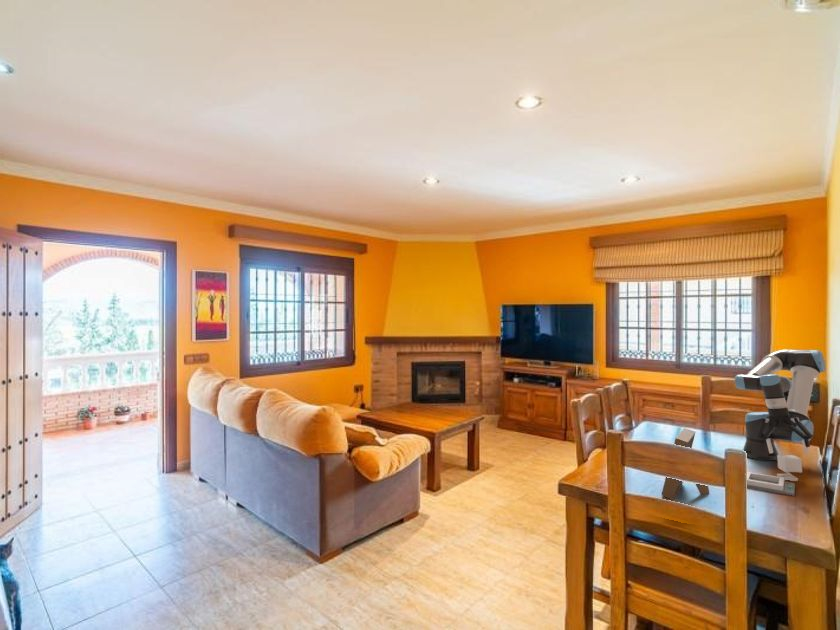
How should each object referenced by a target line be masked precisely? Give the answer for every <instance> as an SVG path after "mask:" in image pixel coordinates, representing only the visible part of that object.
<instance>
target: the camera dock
mask: <svg viewBox="0 0 840 630" xmlns="http://www.w3.org/2000/svg"><path fill="white" fill-rule="evenodd" d="M746 472H747V488H746V489H752V490H758V491H764V492H769V493H775V494H780V495H785V494H786V495H785V496H791V495H792V497H795V495H796V493H795V492H796V490H795V489H796V484H795V483H796V482H795V483H794V482H790V481H785V480H784V478H783V477H777V475H770V474H763V473H758V472H751V471H746Z"/></svg>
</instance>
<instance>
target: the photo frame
mask: <svg viewBox="0 0 840 630" xmlns="http://www.w3.org/2000/svg"><path fill="white" fill-rule="evenodd" d="M695 436H696V431H694V430H691V429H689V428H686V427H684V428H683V429H682V430H681V431H680V433H678V435H677V436H676V437H675V439H674V443H673V445H674V444H676V445H681V446H685V447H690V448H691V449H692V447H693V444H694V439H695ZM683 483H684V481H683V482H682V481H679V480H676V479H672V478H667V477H666V476H665V479H664V483H663V487H662V491H661V496H663V497H666V498H667V499H670V500H672V501H673V500H675V498H676V496H677V494H678V492H680V489H681V488H682V486H683ZM695 486H696V488H697V490H698V493H699V494H700V495H701V496H702V495H706V494H707V495H708V494H710V489H709V485H708V486H705V485H700V484H695Z"/></svg>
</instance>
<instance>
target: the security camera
mask: <svg viewBox="0 0 840 630" xmlns="http://www.w3.org/2000/svg"><path fill="white" fill-rule="evenodd" d="M777 458H778V460H777V468H778V469H779V470H781V471H783V472H784V473H776V476H777V477H783V478H784V481H785V480H790V481H791V482H798V481H799V478H798V477H797V476H794V475H793V474H792V473H803V461H802V458H801V457H798V456H796V455H794V454H779V455H777ZM790 481H789V482H790Z"/></svg>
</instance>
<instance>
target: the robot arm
mask: <svg viewBox="0 0 840 630" xmlns="http://www.w3.org/2000/svg"><path fill="white" fill-rule="evenodd" d="M825 360H826V359H825V356H824V354H823V353H822V351H820V350H817V349H816V350H815V349H813V350H812V349H779V350H776V351H773V352H771V353H769V354H766V355H765V356H763V357H762V359H761V360H760V361H761V362H759V363H758V364H757V365H756V366H755V367H753V368H752V369H751V370H750V371H748V372H747V373H746V374H737V375H736V374H735V375H736V376H735V377H734V386H735V387H736V389H738V390H744V391H745V390H746V391H758V392H763V396H764V400H765V406H766V407H767V411H754V412H748V413H746V414H745V417H744V419H745V420H744V423H745V427H744V428H745V442H744V445H743V448H742V451H743V450H744V451H746V453H747V457H746V458H748V457H749V458H748V459H752V458H754V460H757V459H759V460H758V461H764V460H769V461H768V462H771V461H770V460H776V461H778V458H777V455H780V454H779V451H778V449H777V447H776V445H775V440H777V441H784V442H790V443H794V444H802V447H803V451H804V454H805V456H808V455H810V450H809V447H811V445H810V443H811V442H810V441H811V440H812V438H814V436H813V435H814V427H815V426H814V423H813V422H812V421H811V418H810V417H809V416H808V411H809V407H810V401H811V396H812V393H813V392H812V391H813V388H814V383H815V379H816V378H818V377H819V376H820V373H825V371H826V361H825ZM780 371H790V372H791V374H792V377H791V379H790V378H789V377H787V376H780V374H777V373H778V372H780ZM786 392H788V395H787V400H786V397H785V394H784V393H786ZM750 457H751V458H750Z"/></svg>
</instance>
